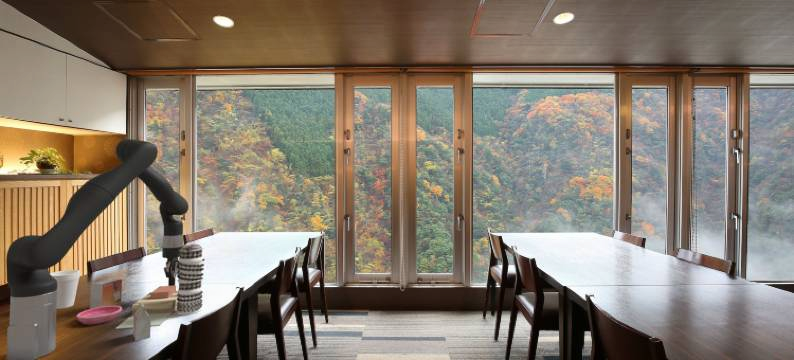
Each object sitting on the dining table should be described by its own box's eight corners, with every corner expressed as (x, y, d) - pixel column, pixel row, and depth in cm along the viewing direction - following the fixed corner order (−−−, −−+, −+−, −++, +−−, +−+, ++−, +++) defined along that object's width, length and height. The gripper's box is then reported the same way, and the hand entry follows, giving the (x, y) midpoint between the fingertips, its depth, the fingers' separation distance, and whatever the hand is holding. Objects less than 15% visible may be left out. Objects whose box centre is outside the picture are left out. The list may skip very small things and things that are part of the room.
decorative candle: (179, 307, 139) (180, 243, 139) (205, 305, 142) (207, 243, 142) (172, 316, 130) (173, 247, 131) (200, 313, 133) (202, 246, 133)
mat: (160, 325, 121) (160, 324, 121) (115, 329, 118) (115, 328, 118) (172, 313, 133) (172, 312, 133) (132, 316, 130) (132, 315, 130)
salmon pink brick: (168, 297, 138) (168, 291, 138) (150, 299, 137) (150, 292, 137) (176, 291, 147) (176, 285, 147) (159, 292, 145) (159, 286, 146)
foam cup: (41, 307, 137) (42, 273, 137) (72, 300, 145) (73, 269, 145) (52, 312, 133) (53, 277, 133) (83, 304, 141) (84, 271, 141)
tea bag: (146, 331, 117) (147, 300, 117) (150, 337, 112) (151, 305, 112) (133, 334, 114) (133, 303, 114) (135, 341, 109) (136, 308, 109)
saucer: (66, 325, 121) (66, 316, 121) (101, 312, 133) (101, 304, 133) (97, 328, 119) (98, 318, 119) (130, 314, 131) (130, 306, 131)
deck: (172, 313, 133) (172, 302, 133) (132, 316, 130) (132, 305, 130) (185, 300, 148) (185, 290, 148) (150, 302, 145) (150, 292, 145)
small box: (101, 312, 133) (102, 284, 133) (89, 311, 134) (90, 283, 134) (121, 305, 141) (122, 278, 141) (110, 304, 142) (111, 277, 142)
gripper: (177, 247, 146) (176, 290, 145) (187, 242, 159) (186, 281, 158) (156, 248, 144) (155, 291, 143) (168, 243, 157) (167, 282, 156)
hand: (171, 286), depth 151 cm, fingers closed
